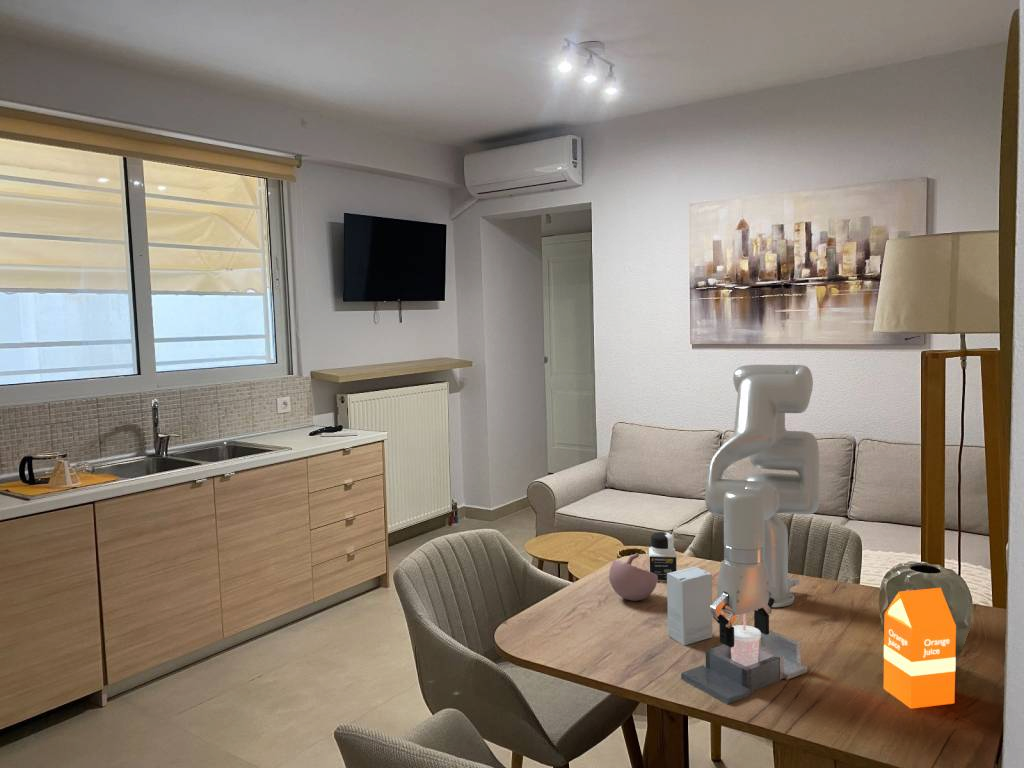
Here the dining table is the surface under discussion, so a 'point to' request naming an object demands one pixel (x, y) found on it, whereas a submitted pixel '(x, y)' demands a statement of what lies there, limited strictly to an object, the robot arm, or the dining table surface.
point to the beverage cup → (745, 644)
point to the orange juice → (920, 649)
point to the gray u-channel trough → (782, 654)
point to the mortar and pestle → (631, 580)
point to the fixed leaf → (731, 675)
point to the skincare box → (689, 605)
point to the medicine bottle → (662, 555)
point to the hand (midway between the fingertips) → (744, 638)
